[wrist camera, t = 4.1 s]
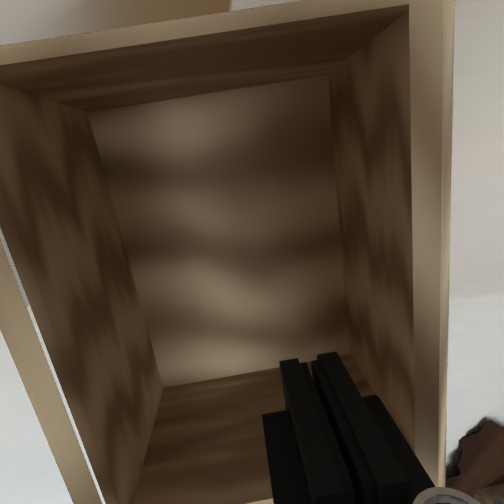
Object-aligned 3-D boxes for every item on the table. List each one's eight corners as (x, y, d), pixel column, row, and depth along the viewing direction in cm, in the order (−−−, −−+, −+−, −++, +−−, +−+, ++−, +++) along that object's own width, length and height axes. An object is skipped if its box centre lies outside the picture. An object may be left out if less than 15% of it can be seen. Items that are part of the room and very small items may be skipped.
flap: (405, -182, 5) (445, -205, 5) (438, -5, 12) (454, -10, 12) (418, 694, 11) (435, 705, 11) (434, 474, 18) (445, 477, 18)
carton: (79, 105, 23) (-65, 55, 12) (332, 66, 24) (433, -19, 12) (159, 390, 30) (118, 536, 18) (354, 355, 30) (431, 475, 19)
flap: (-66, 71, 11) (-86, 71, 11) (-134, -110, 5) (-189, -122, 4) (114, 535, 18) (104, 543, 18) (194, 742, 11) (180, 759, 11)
